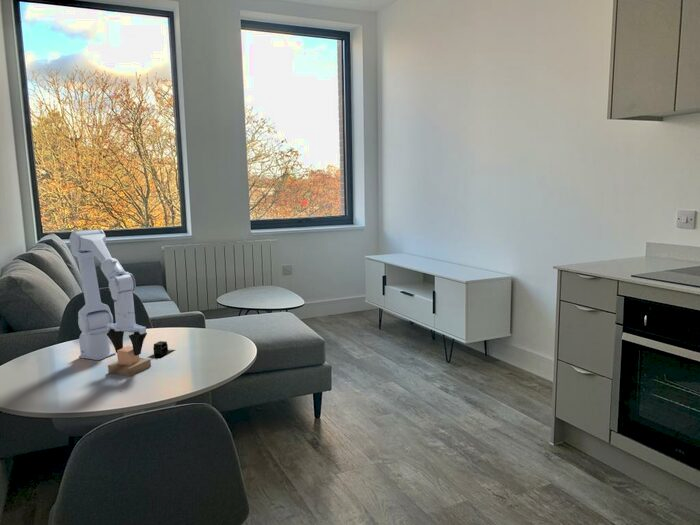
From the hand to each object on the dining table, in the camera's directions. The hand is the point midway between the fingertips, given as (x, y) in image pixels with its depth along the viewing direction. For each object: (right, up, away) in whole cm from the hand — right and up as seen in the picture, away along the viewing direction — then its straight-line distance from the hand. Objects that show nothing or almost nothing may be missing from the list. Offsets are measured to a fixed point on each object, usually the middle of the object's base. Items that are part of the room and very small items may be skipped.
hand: (128, 353), depth 173 cm
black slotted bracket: (+5, -4, +16) cm, 17 cm away
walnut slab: (0, -6, +1) cm, 6 cm away
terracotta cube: (0, -3, 0) cm, 3 cm away
